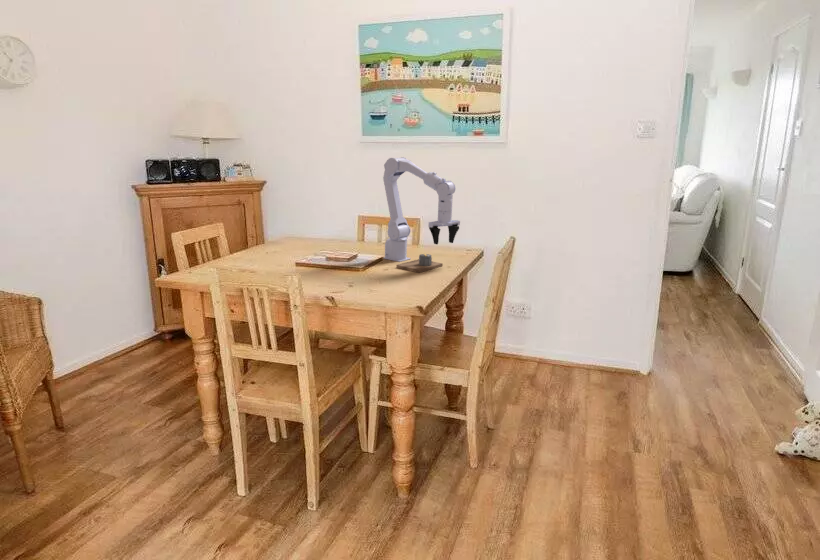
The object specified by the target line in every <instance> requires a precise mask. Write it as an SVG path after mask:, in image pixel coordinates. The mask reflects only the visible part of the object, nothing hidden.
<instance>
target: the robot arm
mask: <svg viewBox="0 0 820 560" xmlns="http://www.w3.org/2000/svg"><path fill="white" fill-rule="evenodd" d="M383 167H384V168H383V169H384V172H383V176H382V180H383V184H384V185H383V186H384V190H385V195H386V201H387V206H388V211H389V217H390V219H389V221H388V223H387V226H388V227H387V235H388V237H389V238H387V239H386V241H385V243H384V257H383V259H385V260H390V261H393V262H399V263H401V262H405V261H408V260H411V257H409V256H408V255H407V253H408V251H407V250H408V248H407V247H408V237H409V236H410V234H411V228H410V226H409V224H408V220H407V219H406V218H405V217H404V215H403V209H402V205H401V198H400V191H399V187H398V179H399V178H400V177H401V176H402V175H403V174H404V173H406V172H408V173H410V174H412V175H414V176H416V177H418V178H419V179H421V180H423V184H424V185H425V186H427V187H428V188H431V189H432V190H433V191H436V193H437V196H438V206H437V220H435V221H428V230H429V231H430V233H431V236H432V240H433V244H434V245H438V244H439V240H440V239H439V236H440V232H441V227H447V229H448V243H450V244H453V243H454V241H455V238H456V236H457V234H458V233H457V232H458V231H459V230H460V226H461V220H458V219H457V220H452V219H453V218H452V217H453V195H454V193H455V192H456V184H455V183H454V182H453V181H452V180H446V178H445V177H441V176H439V175H437V172H436V171H429V172H427V171H426V170H424V169H423V168H421V167H420V166H418V165H417V164H415V163H414V162H413V161H412V160H410V159H407V158H406V157H404V156H403V157H402V156H401V157H389V158H388V159H387V160H386V161H385V163H384V165H383ZM439 227H440V228H439Z"/></svg>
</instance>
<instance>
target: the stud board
mask: <svg viewBox="0 0 820 560" xmlns="http://www.w3.org/2000/svg"><path fill="white" fill-rule="evenodd" d="M443 266H444V265H443V263H441V262H437V261H432V263H431V265H430V266H421V265H419V258H418V259H414V260H411V261H406V262H403V263H399V264H396V269H401V270H405V271H410V272H412V273H413V272H414V273H419V274H420V273H423V272H427V271H431V270H434V269H437V268H438V269H439V268H442V267H443Z"/></svg>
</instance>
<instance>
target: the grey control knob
mask: <svg viewBox="0 0 820 560" xmlns="http://www.w3.org/2000/svg"><path fill="white" fill-rule="evenodd" d="M418 259H419V265H421V266H430V265H431V263H432V259H433V257H432V255H431V254H429V253H421V254H419V256H418Z"/></svg>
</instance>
